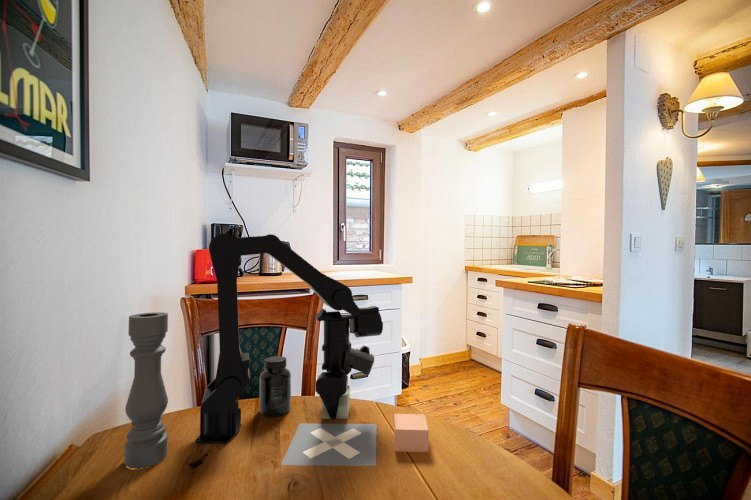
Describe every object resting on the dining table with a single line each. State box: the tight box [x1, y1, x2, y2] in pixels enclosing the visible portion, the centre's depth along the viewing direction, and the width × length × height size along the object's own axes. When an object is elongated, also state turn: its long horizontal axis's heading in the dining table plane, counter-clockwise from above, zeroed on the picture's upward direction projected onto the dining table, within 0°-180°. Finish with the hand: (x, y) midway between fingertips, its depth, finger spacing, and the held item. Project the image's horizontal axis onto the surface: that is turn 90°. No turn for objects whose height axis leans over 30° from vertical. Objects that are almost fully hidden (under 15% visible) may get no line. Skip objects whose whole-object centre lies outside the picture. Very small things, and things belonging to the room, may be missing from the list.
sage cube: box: [321, 385, 351, 420], centre depth 75 cm, size 6×6×6 cm
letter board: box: [280, 422, 377, 467], centre depth 63 cm, size 16×14×1 cm
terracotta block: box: [393, 413, 430, 453], centre depth 63 cm, size 6×6×4 cm
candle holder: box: [123, 312, 169, 469], centre depth 59 cm, size 6×6×25 cm
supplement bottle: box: [259, 355, 292, 418], centre depth 76 cm, size 7×7×12 cm
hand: (336, 408), depth 75 cm, fingers open, 9 cm apart
